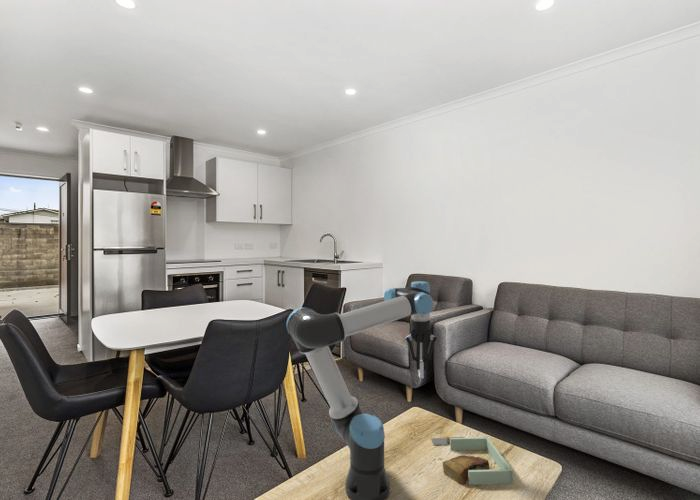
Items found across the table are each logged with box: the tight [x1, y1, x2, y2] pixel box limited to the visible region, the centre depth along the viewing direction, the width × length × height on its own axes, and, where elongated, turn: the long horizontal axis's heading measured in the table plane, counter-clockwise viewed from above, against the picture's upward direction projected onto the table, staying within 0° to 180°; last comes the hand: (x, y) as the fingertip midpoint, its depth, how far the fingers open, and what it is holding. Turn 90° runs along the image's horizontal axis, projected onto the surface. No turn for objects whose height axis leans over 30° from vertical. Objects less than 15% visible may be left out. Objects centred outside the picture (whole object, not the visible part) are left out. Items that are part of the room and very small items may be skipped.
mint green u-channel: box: [449, 436, 514, 486], centre depth 137 cm, size 16×22×4 cm
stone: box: [442, 454, 490, 485], centre depth 132 cm, size 15×9×5 cm, turn 110°
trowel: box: [430, 436, 466, 446], centre depth 152 cm, size 14×4×2 cm, turn 91°
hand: (421, 376), depth 148 cm, fingers closed
